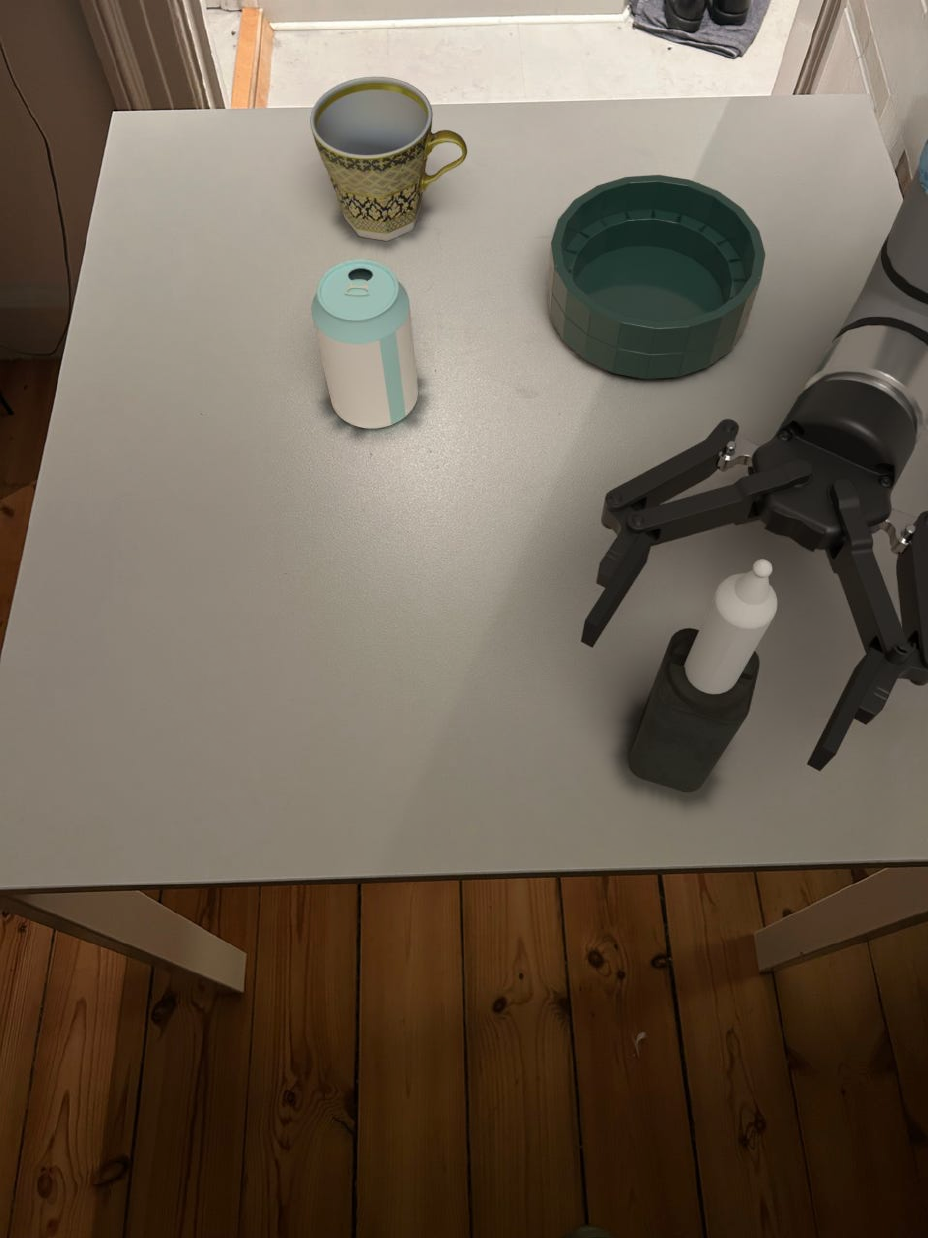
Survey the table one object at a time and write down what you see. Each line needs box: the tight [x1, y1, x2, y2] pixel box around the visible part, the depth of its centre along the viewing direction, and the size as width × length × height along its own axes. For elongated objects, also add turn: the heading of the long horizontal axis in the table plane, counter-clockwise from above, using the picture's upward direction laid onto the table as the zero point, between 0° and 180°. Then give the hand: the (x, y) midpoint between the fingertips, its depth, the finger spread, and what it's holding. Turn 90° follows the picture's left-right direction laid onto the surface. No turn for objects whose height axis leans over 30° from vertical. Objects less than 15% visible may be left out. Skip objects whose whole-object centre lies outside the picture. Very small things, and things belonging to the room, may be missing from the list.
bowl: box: [546, 174, 766, 380], centre depth 81 cm, size 17×17×6 cm
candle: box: [628, 558, 778, 793], centre depth 55 cm, size 5×5×25 cm
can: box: [311, 258, 419, 429], centre depth 75 cm, size 7×7×12 cm
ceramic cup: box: [309, 76, 468, 242], centre depth 85 cm, size 13×10×10 cm
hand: (700, 695), depth 53 cm, fingers open, 13 cm apart
